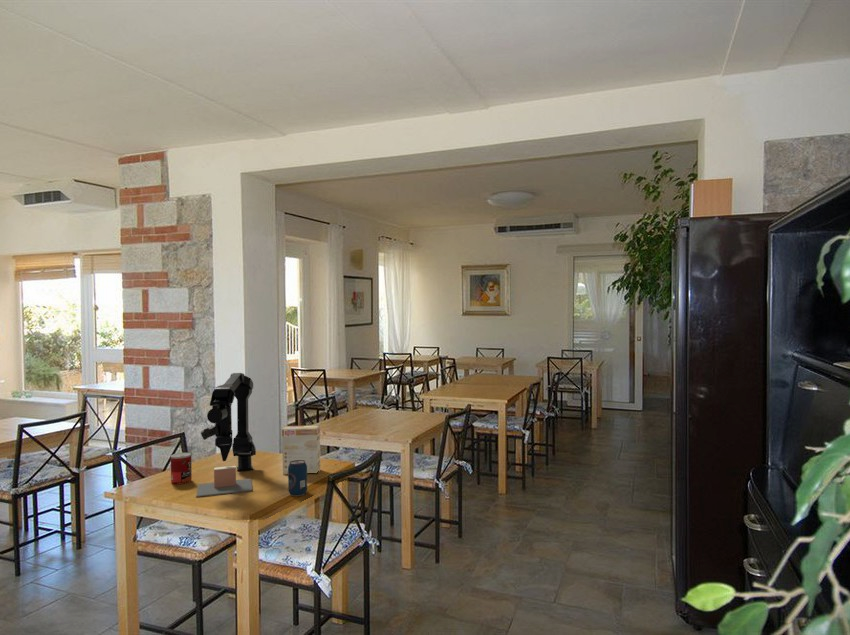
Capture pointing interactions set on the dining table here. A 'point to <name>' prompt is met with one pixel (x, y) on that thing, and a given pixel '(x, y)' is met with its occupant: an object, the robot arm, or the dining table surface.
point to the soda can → (297, 478)
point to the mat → (224, 488)
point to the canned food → (181, 468)
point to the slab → (224, 476)
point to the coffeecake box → (301, 446)
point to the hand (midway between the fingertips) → (224, 458)
